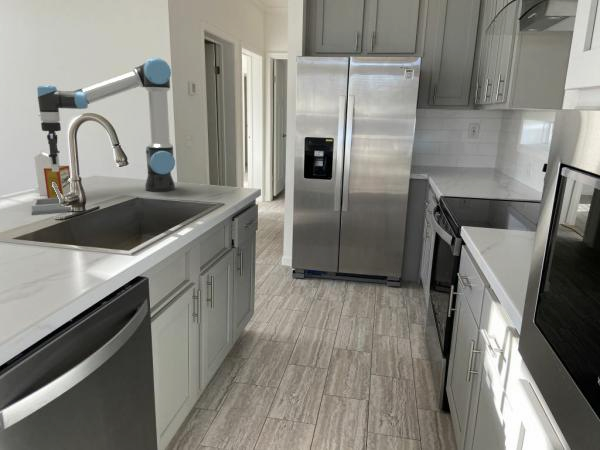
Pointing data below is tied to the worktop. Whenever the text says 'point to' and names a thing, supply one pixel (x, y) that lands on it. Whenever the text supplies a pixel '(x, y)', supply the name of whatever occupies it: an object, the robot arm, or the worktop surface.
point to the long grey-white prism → (42, 171)
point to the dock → (48, 206)
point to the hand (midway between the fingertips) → (56, 169)
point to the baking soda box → (57, 180)
